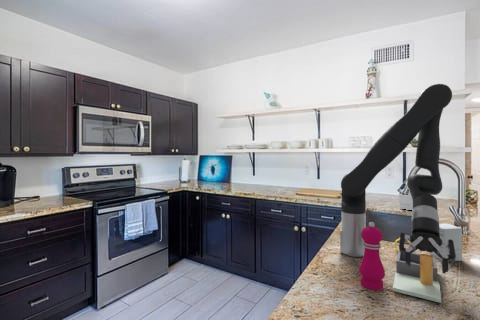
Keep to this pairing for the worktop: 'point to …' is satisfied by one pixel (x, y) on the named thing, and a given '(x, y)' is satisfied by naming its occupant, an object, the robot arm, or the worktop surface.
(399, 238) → the watch
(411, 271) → the parts tub
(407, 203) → the supplement box
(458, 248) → the supplement box
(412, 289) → the lid
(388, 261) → the worktop surface
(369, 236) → the pepper mill
